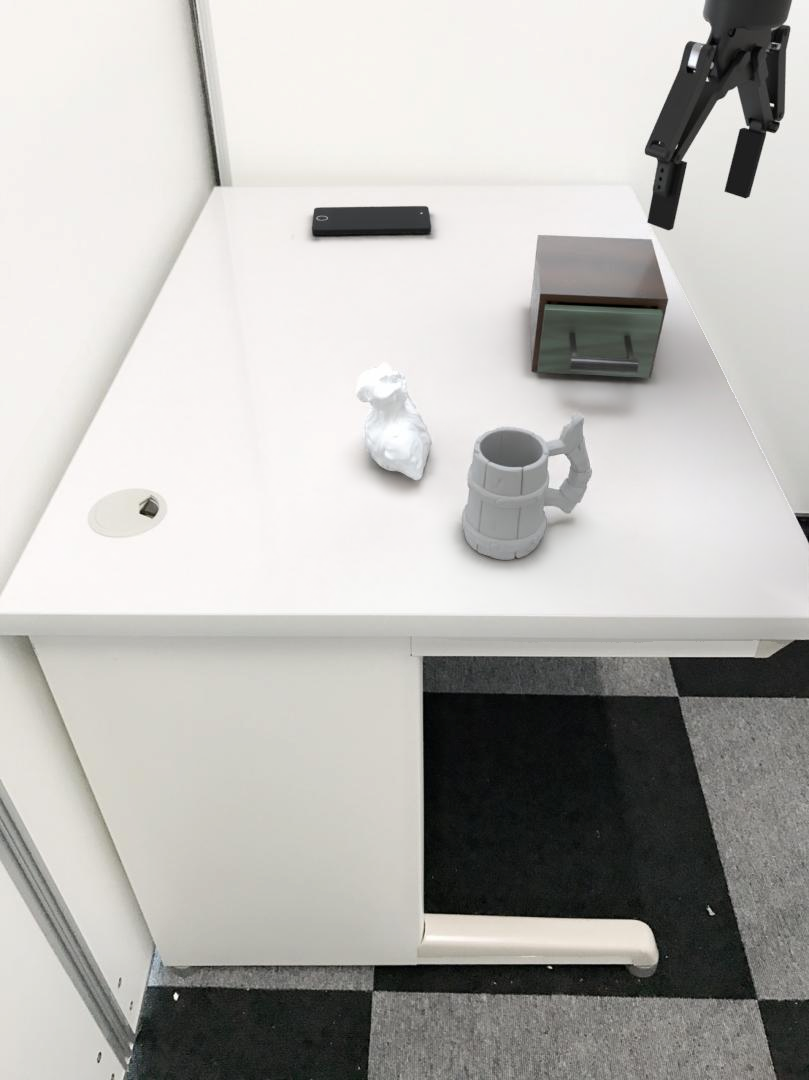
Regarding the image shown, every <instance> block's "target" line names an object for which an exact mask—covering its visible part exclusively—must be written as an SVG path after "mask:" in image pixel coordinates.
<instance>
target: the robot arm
mask: <svg viewBox="0 0 809 1080" xmlns="http://www.w3.org/2000/svg"><path fill="white" fill-rule="evenodd" d="M792 3H793V0H704V4H703V10H702V17H703V19H704V20H705V22H708V24H709V25H710V29H711V30H710V32H709V34H708V35H709V36H708V38H707V40H706V41H705V42H706V43H703V42H697V41H692V40H688V42H686V44H685V46H684V49H683V53H682V57H681V60H680V64H679V69H678V71H677V74H676V76H675V78H674V79H673V83H672V85H671V87H670V90H669V91H668V93H667V97H666V99H665V101H664V104H663V106H662V108H661V110H660V112H659V115H658V117H657V119H656V122H655V124H654V126H653V129H652V131H651V133H650V135H649V138H648V140H647V143H646V145H645V147H644V155H646V156H649V157H652V158H655V159H656V160H657V161H656V162H657V164H656V169H655V175H654V180H653V185H652V195H651V196H652V197H651V200H650V206H649V211H648V216H647V220H646V223H647V224H649V225H652V226H655V227H658V228H660V229H663V230H666V231H671V230H673V229H674V226H675V221H676V217H677V214H678V213H677V212H678V208H679V203H680V198H681V195H682V189H683V184H684V180H685V175H686V170H687V166H688V162H687V161H684V160H683V159H684V157H685V155H686V154H687V152H688V151H689V149H690V148H691V145H692V144H693V143H694V141H695V139H696V137H697V135H698V134H699V132H700V131H701V129H702V127H703V126H704V124H705V123H706V120H707V119H708V117H709V116H710V114H711V112H712V110H713V109H714V107H715V105H716V104H717V102H718V101H719V100H723V99H724V98H725V97H726V96H727V94H728V93H729V91H733V90H734V89H737V91H738V97H739V100H740V105H741V108H742V113H743V117H744V121H745V125H746V127H742V128H739V130H738V134H737V138H736V142H735V146H734V152H733V155H732V159H731V163H730V167H729V171H728V174H727V178H726V179H727V180H726V182H725V186H724V193H727V194H730V195H734V196H737V197H739V198H742V199H748V198H751V197H750V196H751V193H752V189H753V185H754V181H755V177H756V174H757V171H758V166H759V163H760V159H761V156H762V152H763V148H764V145H765V140H766V136H767V133H771V134H776V133H777V132H778V130H779V128H780V126H781V121H782V120H783V118H784V117H785V112H786V77H787V75H786V74H787V73H786V72H787V70H786V69H787V48H788V44H789V39H790V35H791V25H788V24H785V23H786V22H787V20H788V17H789V15H790V11H791V6H792ZM771 104H772V105H771ZM747 127H748V128H747Z"/></svg>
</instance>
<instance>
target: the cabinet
mask: <svg viewBox="0 0 809 1080" xmlns="http://www.w3.org/2000/svg"><path fill="white" fill-rule="evenodd" d="M662 276H663V275H662V272H661V268H660V265H659V261H658V258H657V254H656V250H655V247H654V243H653V239H651V238H631V237H630V238H629V237H628V238H627V237H626V238H625V237H605V236H604V237H602V236H600V237H598V236H579V235H578V236H576V235H575V236H574V235H552V234H551V235H549V234H537V238H536V248H535V257H534V266H533V277H532V284H531V295H530V303H529V323H530V324H529V326H530V327H529V328H530V331H529V332H530V368H531V369H530V371H531V372H534V373H535V372H536V373H537V372H538V368H537V366H538V358H539V350H540V341H541V333H542V324H543V316H544V308H545V304H547V301H550V302H572V303H595V304H617V305H640V306H652V308H651V309H660V310H662V314H663V316H662V320H661V325H660V329H659V334H658V338H657V343H656V347H655V352H654V356H653V361H652V365H651V370H650V374H649V378H652V374H653V370H654V365H655V360H656V357H657V352H658V347H659V342H660V338H661V334H662V329H663V325H664V320H665V315H666V311H667V306H668V303H669V297H668V294H667V290H666V287H665V283H664V279H663V277H662ZM538 373H539V372H538Z"/></svg>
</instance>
